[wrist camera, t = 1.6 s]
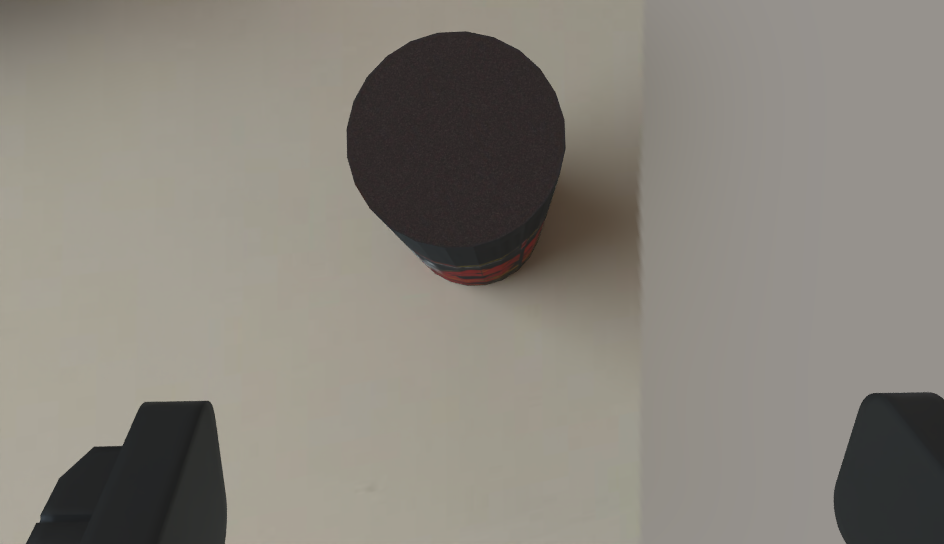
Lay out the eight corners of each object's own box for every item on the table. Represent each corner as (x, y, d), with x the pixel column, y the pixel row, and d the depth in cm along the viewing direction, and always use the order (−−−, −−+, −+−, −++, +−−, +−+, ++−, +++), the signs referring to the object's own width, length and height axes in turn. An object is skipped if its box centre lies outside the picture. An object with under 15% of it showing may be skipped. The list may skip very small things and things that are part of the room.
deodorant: (388, 258, 38) (313, 203, 23) (435, 134, 38) (392, 1, 23) (513, 305, 38) (520, 280, 23) (560, 179, 38) (597, 73, 23)
